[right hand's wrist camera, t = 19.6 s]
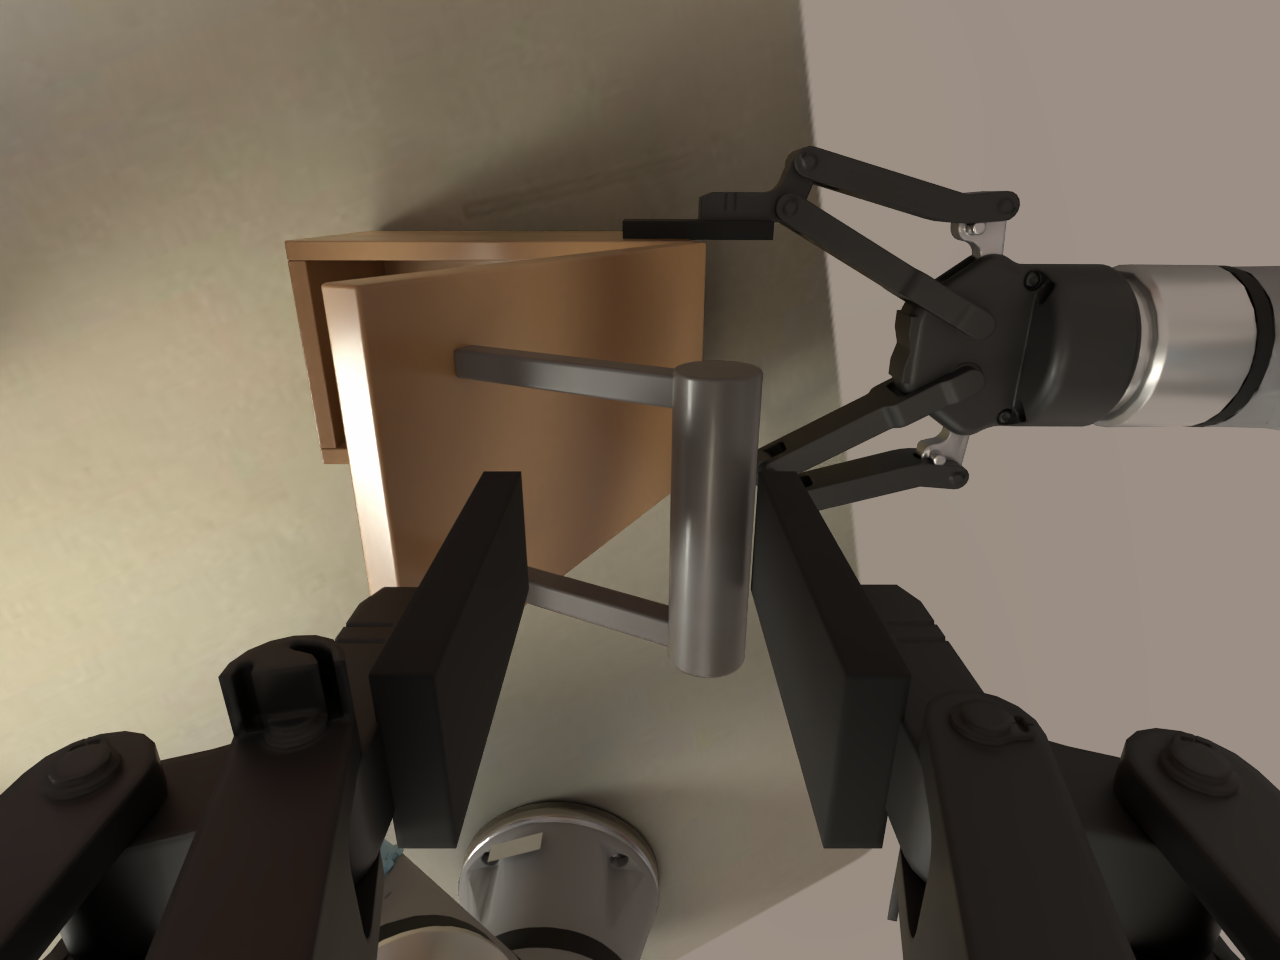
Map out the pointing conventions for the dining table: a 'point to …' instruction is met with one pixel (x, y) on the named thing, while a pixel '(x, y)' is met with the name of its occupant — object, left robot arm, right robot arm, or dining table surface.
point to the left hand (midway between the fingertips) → (624, 345)
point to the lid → (557, 429)
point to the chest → (403, 255)
